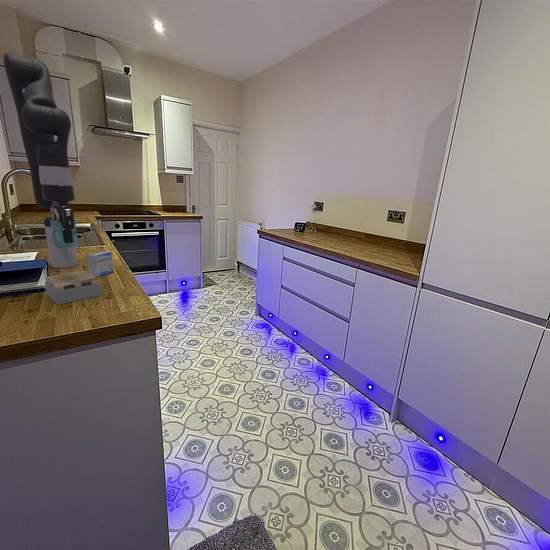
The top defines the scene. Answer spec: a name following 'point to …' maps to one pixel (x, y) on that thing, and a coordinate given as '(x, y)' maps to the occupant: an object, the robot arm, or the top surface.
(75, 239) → the teal upright block
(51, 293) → the platform
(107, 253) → the medicine box
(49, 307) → the top surface
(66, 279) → the pallet
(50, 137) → the robot arm
